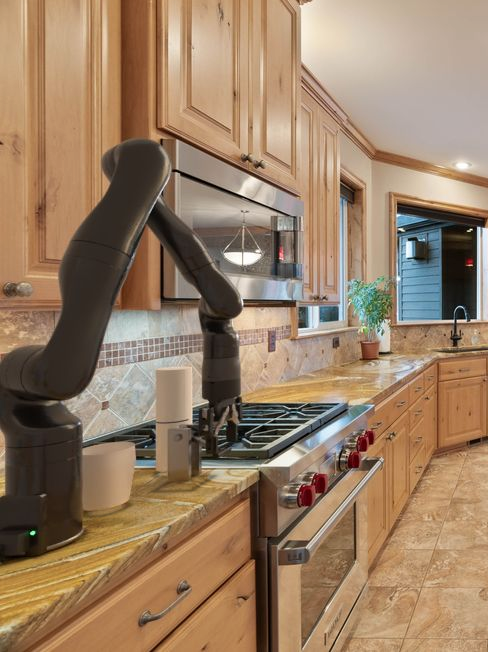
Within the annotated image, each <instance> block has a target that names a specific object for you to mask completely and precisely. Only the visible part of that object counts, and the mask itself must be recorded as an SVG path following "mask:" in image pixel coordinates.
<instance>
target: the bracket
mask: <svg viewBox="0 0 488 652" xmlns="http://www.w3.org/2000/svg"><path fill="white" fill-rule="evenodd" d="M184 426H186V427H188V428H181V427H184ZM191 429H192V430H194V431H196V433H195V436H197V437H199V436H198V423H192V424H181V425H179V428H174V429H168V472H167V483H189V482H190V481H192V476H200V475H202V473H203V470H202V469H203V468H202V467H203V465H202V464H203V462H202V461H203V457H202V456H203V455H202V453H203V452H202V451H203V449H202V448H203V447H202V446H200V445H198V444H196V443H194V442H192V441H191ZM199 438H201V439H203V437H199Z"/></svg>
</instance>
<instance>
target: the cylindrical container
mask: <svg viewBox="0 0 488 652" xmlns="http://www.w3.org/2000/svg"><path fill="white" fill-rule="evenodd" d="M181 424H193V366H189V365H188V366H186V365H185V366H184V365H183V366H180V365H179V366H165V367H157V368H155V471H157V472H162V473H164V472H165V473H168V429H174V428H179V425H181Z"/></svg>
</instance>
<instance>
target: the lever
mask: <svg viewBox="0 0 488 652" xmlns="http://www.w3.org/2000/svg"><path fill="white" fill-rule="evenodd" d="M181 428H188V427H186V426H184V427H181ZM195 433H196V431H194V430H192V429H191V441H192V442H194V443H196V444H198V445H200V446H202V448H204V449H206V439H203V438H202V439H201V438H199V437H197V436H195ZM231 451H232V447H231V446H230V445H226V446H224V447H222V448H221V447H219V446H218V452H217V453H216V454H211V457H212V459H213V460H218V459H220V458H221V457H223V456H224V455H226V454H228V453H230V452H231Z"/></svg>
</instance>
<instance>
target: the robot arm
mask: <svg viewBox="0 0 488 652" xmlns="http://www.w3.org/2000/svg"><path fill="white" fill-rule="evenodd" d="M172 162H173V161H172V158H171V155H170V154H169V152H168V151H167V149H166V148H165V147H164V146H163V145H161V144H160V143H159V142H158V141H156V140H153V139H150V138H145V137H135V138H130V139H126V140H123V141H122V142H120V143H118V144H116V145H114V146H112V147H111V148H109V149H108V150H106V151H105V152H104V153H103V154H102V156H101V159H100V167H101V170H102V173H103V175H104V176H105V178H106V179H107V180H108V182H109V185H108V188H107V190H106V191H105V193H104V195H103V196H102V198H101V199H100V201H99V202H97V204H96V205H95V206H94V207H93V208H92V210H91V211H90V212H89V213H88V215H87V216H86V217H85V218H84V220H82V222H81V223H80V225H78V227H77V229H76V230H75V231H74V232H73V235H72V236H71V238H70V240H69V242H68V244H67V246H66V249H65V251H64V253H63V256H62V257H61V259H60V263H59V265H58V271H57V279H58V280H57V281H58V288H59V294H60V303H61V309H60V314H59V317H58V320H57V323H56V325H55V327H54V329H53V332H52V334H51V336H50V338H49V339H48V342H47V343H46V344H27V345H23V346H19V347H16V348H14V349H12V350H11V351H9V352H7V353H6V354H5V355H4V356H3V357H2V359H0V431H1V433H2V434H3V437H4V438H3V439H4V495H3V494H2V495H1V496H0V562H3V561H5V560H6V558H7V557H29V556H31V557H32V556H40V555H43V554H45V553H47V552H49V551H53V550H55V549H58V548H61V547H64V546H66V545H69V544H71V543H73V542H75V541H76V540H78V539H80V538H81V537H82V536H83V535H84V530H85V529H84V525H83V524H84V521H83V520H84V510H83V448H84V435H83V434H84V431H83V430H84V426H83V425H84V424H83V420H82V419H81V418H80V417H78V416H77V415H75V414H74V413H73V412H71V410H69V408H68V407H67V405H66V401H69V400H71V399H74V398H77V397H78V396H80V395H81V394H82V393H83V392H84V391H85V390H86V389H87V388H88V387H89V385H90V384H91V383H92V381H93V379H94V377H95V374H96V370H97V368H98V364H99V360H100V356H101V352H102V348H103V345H104V340H105V337H106V333H107V330H108V327H109V323H110V320H111V317H112V315H113V312H114V310H115V307H116V305H117V301H118V298H119V295H120V294H121V290H122V288H123V286H124V284H125V282H126V280H127V277H128V275H129V272H130V269H131V267H132V265H133V263H134V259H135V257H136V254H137V251H138V248H139V246H140V243H141V241H142V237H143V235H144V232H145V230H146V226H147V227H148V228H149V230H151V232H152V234H153V235H154V236H155V237H156V239H157V240H158V241H159V243H160V244H161V246H162V247H163V249H164V250H165V251H166V253H167V254H168V256H169V258H170V259H171V262H172V263H173V265H174V266H175V267H176V269H177V271H178V272H179V274H180V275H181V277H182V278H183V280H185V282H186V283H187V284H189V285H190V286H192V287H194V288H195V290H196V291H197V293H198V294H199V295H200V298H199V300H198V305H197V313H198V320H199V325H200V330H201V335H202V362H201V398H202V399H203V400H206V401H208V405H207V407H204V408H203V407H202V408H199V409H198V423H197V424H198V436H199V437H202V438H205V441H206V448H205V454H206V455H213V454H216V453H217V452H218V447H219V436H218V435H219V432H220V429H221V428H222V427H223V426H224V423H225V425H226V426H225V441H226V443H235V442H237V441H238V426H239V425H240V422H242V421H243V418H244V417H243V416H244V415H243V413H244V411H243V397H242V396H241V394H242V375H241V374H242V372H241V371H242V370H241V369H242V368H241V367H242V366H241V360H240V359H241V358H240V336H239V334H238V332H236V331H235V329H234V324H233V323H234V322H233V320H234V319H236V318H237V317H238V316H240V315H241V314H242V311H243V309H244V300H243V298H242V295H241V293H240V292H239V290H238V289H237V287H236V286H235V285H234V283H233V282H232V281H231V280H230V278H229V277H228V276H227V275H226V274H225V273H224V272H223V271H222V270H221V269H220V267H219V266H218V263H217V261H216V260H215V258H214V256H213V255H212V253H211V251H210V250H209V248H208V246H207V245H206V243H205V242H204V240H203V239H202V238H201V237H200V235H199V234H198V233H197V232H196V231H194V230H193V229H192V227H190V225H188V224H187V223H186V222H185V221H184V220H183V219H182V218H181V217H179V216H178V215H177V213H175V211H173V209H172V208H171V207H170V205H169V204H168V203H167V201H166V200H165V198H164V197H163V196H164V195H162V192H163V190H164V188H165V187H166V185H167V184H168V182H169V180H170V178H171V176H172V172H173V163H172Z"/></svg>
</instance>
